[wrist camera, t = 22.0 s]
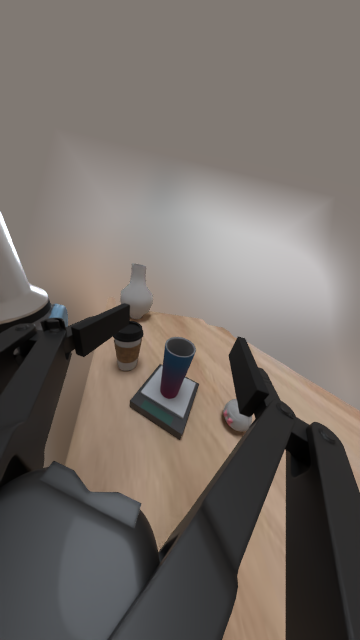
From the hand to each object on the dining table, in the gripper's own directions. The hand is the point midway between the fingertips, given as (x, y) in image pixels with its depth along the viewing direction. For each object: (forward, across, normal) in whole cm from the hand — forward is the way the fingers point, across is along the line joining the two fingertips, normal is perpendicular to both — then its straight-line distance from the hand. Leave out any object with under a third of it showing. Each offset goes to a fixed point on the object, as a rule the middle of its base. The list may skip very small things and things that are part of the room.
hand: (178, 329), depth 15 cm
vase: (+48, -32, -28) cm, 64 cm away
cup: (+10, 0, -25) cm, 27 cm away
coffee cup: (+16, -16, -28) cm, 36 cm away
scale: (+10, 0, -28) cm, 29 cm away
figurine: (+9, +18, -28) cm, 35 cm away
